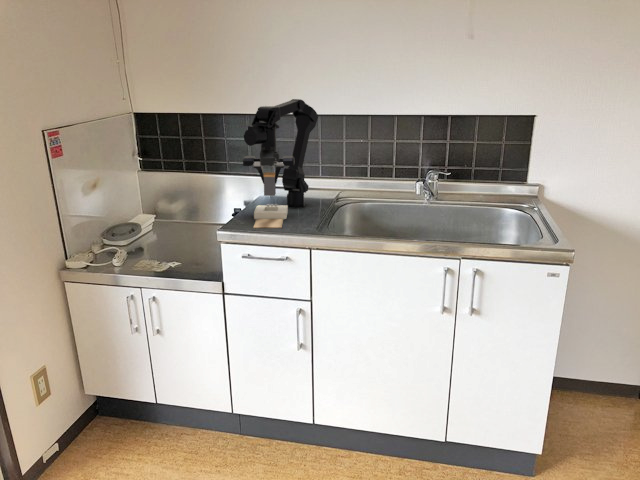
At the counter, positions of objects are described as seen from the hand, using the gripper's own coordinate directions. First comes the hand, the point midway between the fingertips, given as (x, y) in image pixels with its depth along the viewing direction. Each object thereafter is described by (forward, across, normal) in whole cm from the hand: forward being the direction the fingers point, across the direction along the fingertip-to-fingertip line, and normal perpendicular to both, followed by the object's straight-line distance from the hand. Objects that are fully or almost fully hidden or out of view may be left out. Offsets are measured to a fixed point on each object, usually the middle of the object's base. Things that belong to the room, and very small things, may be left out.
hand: (269, 183), depth 202 cm
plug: (+4, 0, 0) cm, 4 cm away
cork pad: (+12, 0, -11) cm, 17 cm away
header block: (+12, 0, 0) cm, 12 cm away
